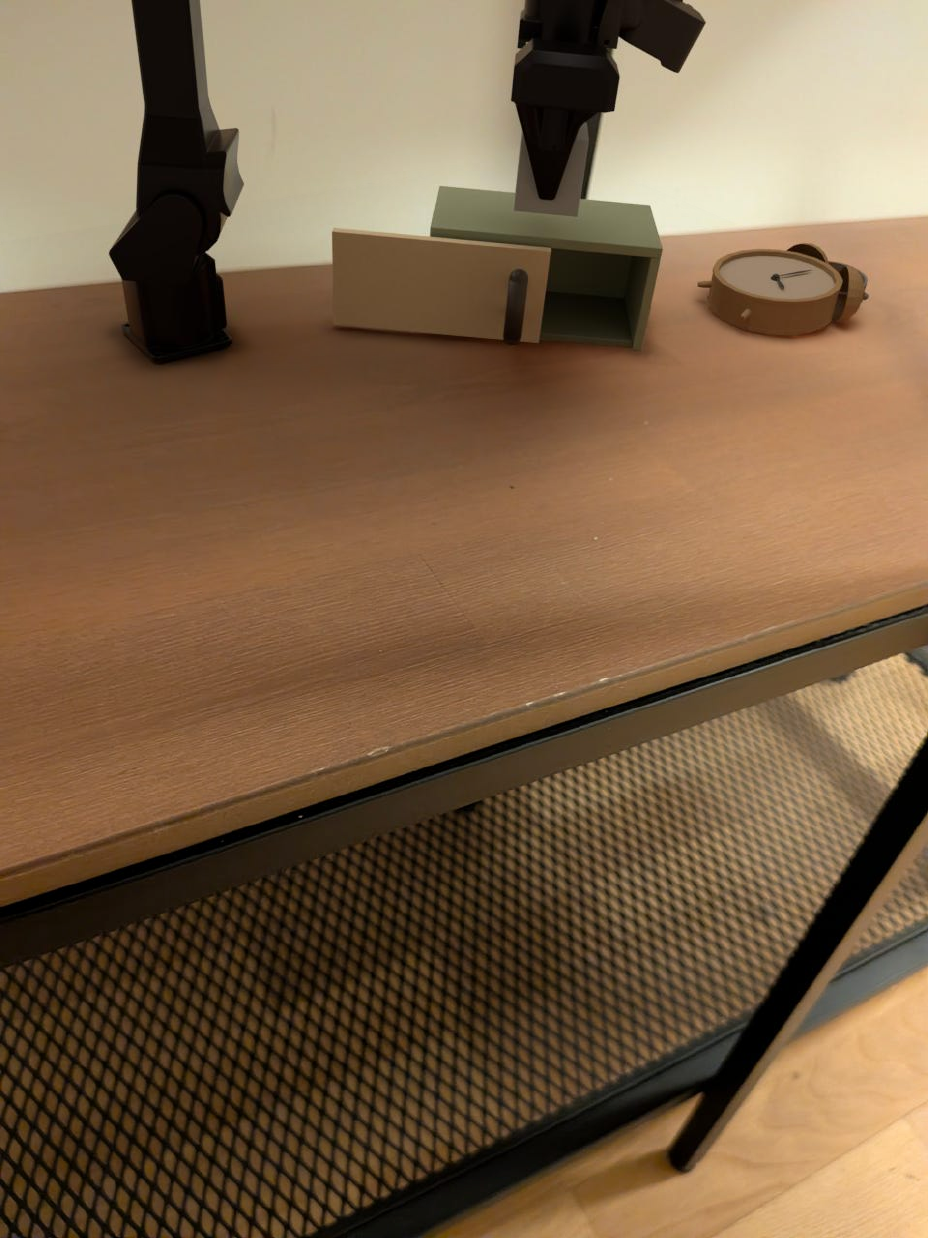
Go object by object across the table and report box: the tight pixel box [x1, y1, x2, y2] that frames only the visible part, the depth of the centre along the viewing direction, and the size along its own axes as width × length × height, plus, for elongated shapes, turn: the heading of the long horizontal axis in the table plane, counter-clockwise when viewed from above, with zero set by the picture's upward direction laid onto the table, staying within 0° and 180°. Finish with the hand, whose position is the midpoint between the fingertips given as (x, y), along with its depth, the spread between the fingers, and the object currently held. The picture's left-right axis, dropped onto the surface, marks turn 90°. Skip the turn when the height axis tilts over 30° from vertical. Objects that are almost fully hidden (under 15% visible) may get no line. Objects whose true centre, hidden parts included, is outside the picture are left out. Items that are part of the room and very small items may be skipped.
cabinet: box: [429, 185, 664, 352], centre depth 80 cm, size 18×10×8 cm, turn 87°
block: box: [514, 122, 590, 217], centre depth 67 cm, size 4×4×5 cm
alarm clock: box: [697, 242, 870, 336], centre depth 87 cm, size 11×5×15 cm
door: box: [331, 227, 551, 347], centre depth 74 cm, size 17×6×8 cm, turn 87°
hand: (546, 188), depth 68 cm, fingers closed on block, 4 cm apart
